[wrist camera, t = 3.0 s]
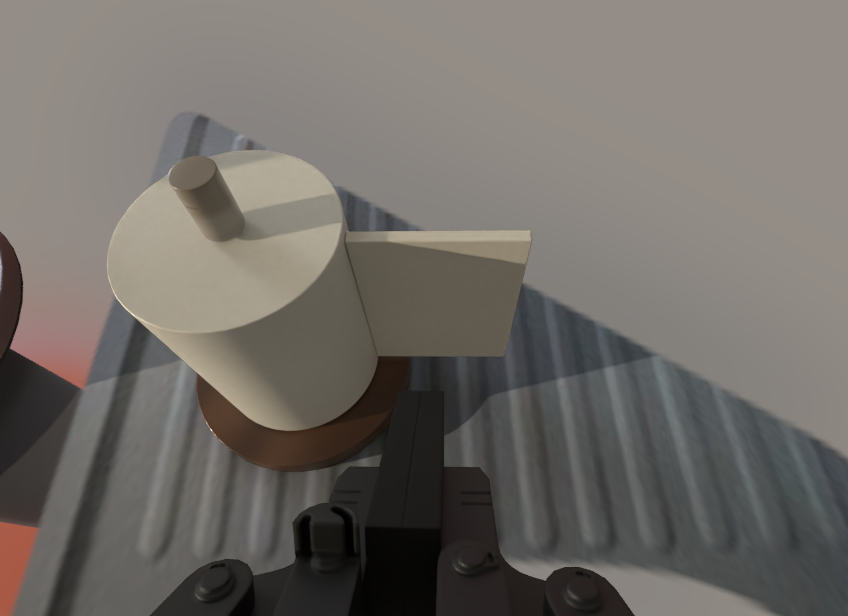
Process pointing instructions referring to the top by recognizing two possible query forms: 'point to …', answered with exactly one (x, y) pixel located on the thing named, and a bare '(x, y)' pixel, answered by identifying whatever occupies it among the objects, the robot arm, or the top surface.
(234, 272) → the paper towel roll
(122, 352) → the top surface
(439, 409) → the robot arm
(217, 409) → the towel holder
